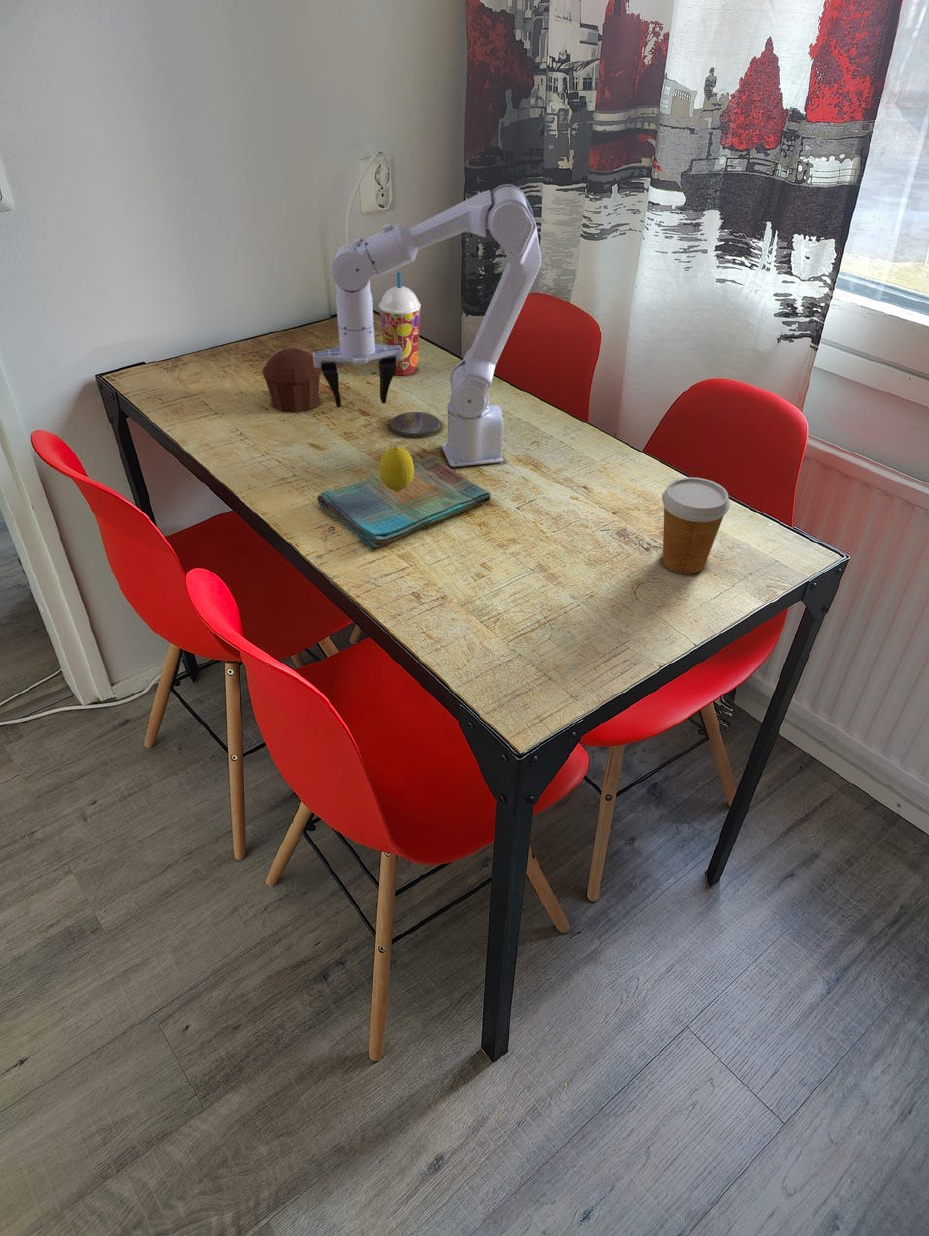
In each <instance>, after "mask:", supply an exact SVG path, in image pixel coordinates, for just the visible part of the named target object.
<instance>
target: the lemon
mask: <svg viewBox="0 0 929 1236" xmlns="http://www.w3.org/2000/svg"><path fill="white" fill-rule="evenodd" d="M378 475H380V478H381V480H382V482H383V484H384V485H385V486H386V487H387V488H389V489H391V490H394V491H396V492H399V491H400V490H403V489H405V488H406V487H408V486H409V485H410V483H411V482H412V480H413V476H414V461H413V458H412V456H411V454H410V453H409V452H408V451H407V450H406V449H405V448H403V447H400V446H397V445H395V446H393V447H390V448H388V449H386V450H385V451H384V452H383V454H382V455H381V457H380V459H379V466H378Z"/></svg>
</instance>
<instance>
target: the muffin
mask: <svg viewBox="0 0 929 1236" xmlns="http://www.w3.org/2000/svg"><path fill="white" fill-rule="evenodd" d="M321 374H322V369H321V367H317V368H315V366H314V361H313V354H311V353H309V352H307V351H306V350H304V349H300V348H296V347H294V348H292V347H291V348H290V347H289V348H283V349H281V350H279V351H277V352H275V353H274V354H273V355H272V356H271V357H270V358H269V359H268V361H267V362H266V364H265V366H264V367H263V369H262V375H263V378H264V379H265V382H266V386H267V389H268V392H269V396H270V398H271V402H272V403H271V404H272V405H273V408H276V409H278V410H279V411H281V412H291V413H292V412H293V413H299V412H302V411H309V410H311V409H312V408H313V407H315V406H317V405H318V404H319V391H320V375H321Z"/></svg>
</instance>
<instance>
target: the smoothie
mask: <svg viewBox="0 0 929 1236" xmlns="http://www.w3.org/2000/svg"><path fill="white" fill-rule="evenodd" d="M396 277H397V282H396V283H397V285H394V286H392V287H390V288H389V289H388V290H386V292H385V293H384V294H383V295H382V297H381V301H380V302H379V304H378V308H379V317H380V326H381V337H382V345H390V346H396V345H400V347H401V349H402V361H396V364H397V369H396V372H395V374H394V375H397V376H407V375H411V374H412V373H415V371H416V367H417V366H418V365H419V346H420V345H419V343H420V340H419V339H420V321H421V304H422V303H421V302H420V301H419V299H418V296H417V295H416V294H415V293H414V291H413V290H412V289H411V288H409V287H407V286H405V285H402V279H401V278H402V277H401V271H398V272H396Z"/></svg>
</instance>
